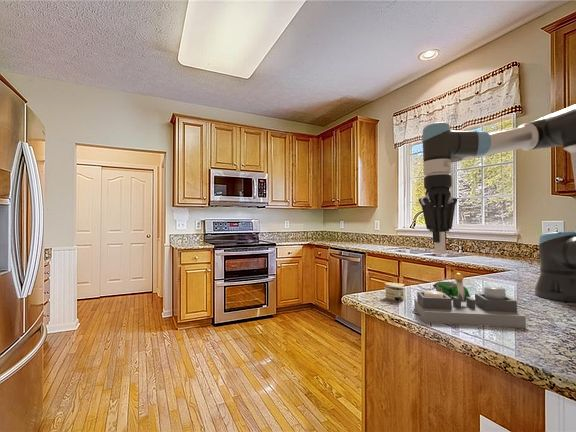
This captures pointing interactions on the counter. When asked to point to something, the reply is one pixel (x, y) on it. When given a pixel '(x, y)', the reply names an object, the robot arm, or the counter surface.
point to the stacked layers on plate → (394, 291)
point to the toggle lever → (460, 286)
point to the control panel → (469, 311)
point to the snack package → (449, 289)
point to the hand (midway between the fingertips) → (440, 253)
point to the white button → (433, 294)
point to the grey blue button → (494, 293)
